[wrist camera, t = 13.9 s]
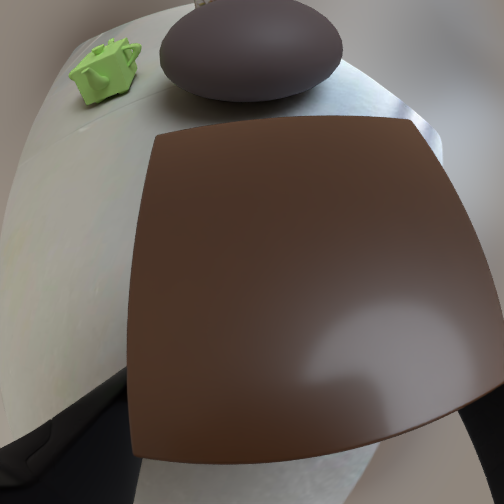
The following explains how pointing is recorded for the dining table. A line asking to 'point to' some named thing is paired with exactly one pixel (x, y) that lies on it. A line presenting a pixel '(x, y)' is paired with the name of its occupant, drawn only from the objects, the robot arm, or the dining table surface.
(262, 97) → the smooth stone
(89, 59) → the teapot
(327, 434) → the walnut block
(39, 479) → the robot arm
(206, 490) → the dining table surface
